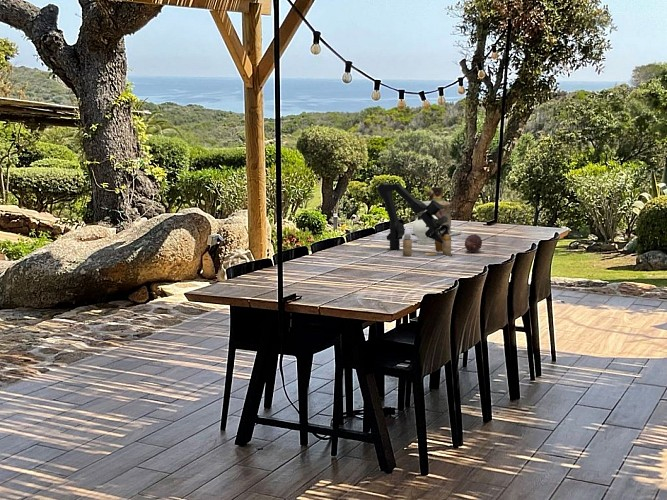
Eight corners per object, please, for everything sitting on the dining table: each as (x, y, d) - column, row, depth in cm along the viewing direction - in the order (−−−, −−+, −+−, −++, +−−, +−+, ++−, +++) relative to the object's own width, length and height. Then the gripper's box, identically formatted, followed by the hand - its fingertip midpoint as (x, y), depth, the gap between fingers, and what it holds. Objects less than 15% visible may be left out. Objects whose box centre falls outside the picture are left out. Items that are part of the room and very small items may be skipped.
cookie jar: (433, 231, 581) (433, 183, 576) (463, 234, 564) (464, 185, 559) (409, 234, 563) (410, 185, 558) (440, 238, 546) (440, 187, 541)
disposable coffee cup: (448, 251, 493) (449, 231, 491) (432, 251, 494) (432, 230, 493) (450, 249, 502) (450, 228, 500) (433, 248, 504) (433, 228, 502)
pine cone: (466, 249, 503) (466, 232, 501) (483, 249, 500) (484, 232, 499) (462, 253, 486) (462, 236, 484) (480, 254, 483) (480, 236, 482)
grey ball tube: (401, 255, 476) (401, 233, 474) (408, 254, 477) (409, 232, 476) (405, 256, 471) (405, 234, 469) (413, 256, 473) (413, 234, 471)
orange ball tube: (440, 255, 480) (440, 233, 478) (447, 255, 482) (448, 233, 480) (445, 256, 476) (445, 234, 474) (452, 256, 478) (452, 234, 476)
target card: (396, 256, 478) (396, 254, 478) (431, 253, 487) (431, 252, 487) (406, 259, 468) (406, 257, 468) (441, 256, 477) (441, 254, 477)
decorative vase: (441, 240, 536) (441, 200, 532) (441, 244, 519) (442, 203, 515) (412, 240, 538) (412, 200, 534) (412, 244, 521) (412, 203, 517)
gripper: (430, 212, 471) (447, 234, 466) (447, 209, 486) (464, 230, 481) (417, 226, 477) (434, 247, 472) (434, 222, 491) (451, 243, 487)
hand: (446, 242), depth 478 cm, fingers open, 9 cm apart
